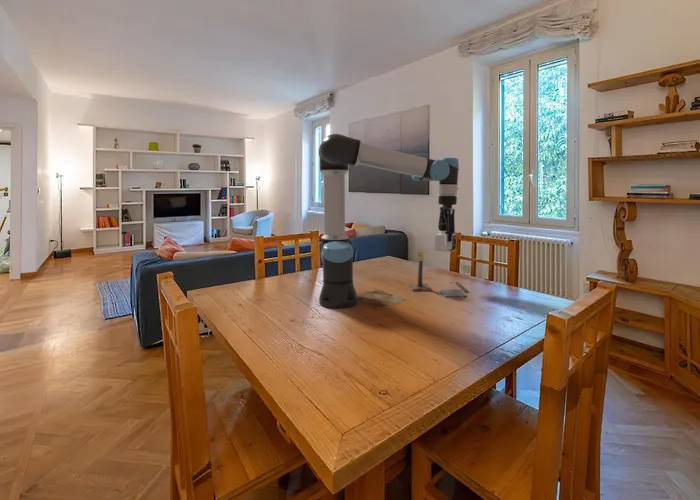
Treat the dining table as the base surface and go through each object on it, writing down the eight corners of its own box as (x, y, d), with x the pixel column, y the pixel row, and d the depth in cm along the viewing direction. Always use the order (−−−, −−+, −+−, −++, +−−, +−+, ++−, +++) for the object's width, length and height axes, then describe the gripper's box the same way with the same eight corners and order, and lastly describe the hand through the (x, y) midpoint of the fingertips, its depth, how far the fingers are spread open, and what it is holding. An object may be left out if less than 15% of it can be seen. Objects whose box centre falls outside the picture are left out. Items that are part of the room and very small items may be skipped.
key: (422, 262, 163) (422, 253, 162) (416, 261, 164) (416, 252, 163) (426, 255, 176) (426, 247, 176) (420, 255, 177) (421, 247, 177)
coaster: (445, 297, 156) (445, 295, 156) (439, 290, 165) (439, 289, 164) (466, 296, 156) (466, 295, 156) (460, 290, 165) (460, 289, 165)
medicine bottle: (449, 252, 161) (450, 223, 159) (433, 250, 165) (435, 223, 164) (456, 250, 166) (457, 223, 165) (440, 249, 171) (441, 222, 169)
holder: (413, 293, 162) (414, 264, 160) (408, 284, 176) (408, 257, 173) (467, 292, 162) (468, 263, 160) (457, 283, 176) (458, 257, 174)
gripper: (464, 196, 151) (461, 251, 155) (449, 194, 173) (446, 243, 177) (446, 196, 151) (443, 251, 155) (432, 194, 173) (430, 243, 177)
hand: (445, 247), depth 166 cm, fingers closed on medicine bottle, 10 cm apart
